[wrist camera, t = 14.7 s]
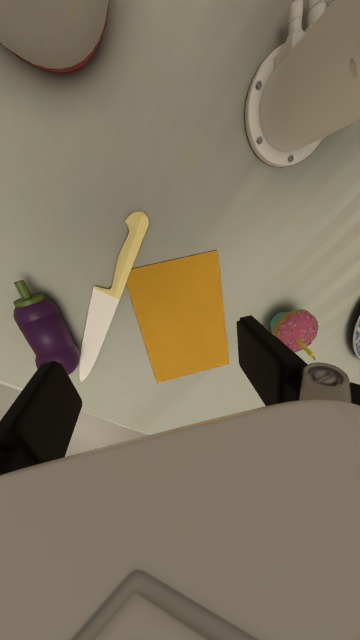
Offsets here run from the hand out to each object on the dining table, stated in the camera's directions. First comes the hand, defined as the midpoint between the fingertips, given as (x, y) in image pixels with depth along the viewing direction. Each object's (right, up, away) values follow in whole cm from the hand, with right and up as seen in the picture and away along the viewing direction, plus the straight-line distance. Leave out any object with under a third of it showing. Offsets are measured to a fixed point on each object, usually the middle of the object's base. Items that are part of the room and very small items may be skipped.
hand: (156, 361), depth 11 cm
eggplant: (-20, +2, +24) cm, 31 cm away
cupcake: (+22, +2, +32) cm, 39 cm away
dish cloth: (+2, +1, +28) cm, 28 cm away
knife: (-12, +5, +24) cm, 28 cm away
